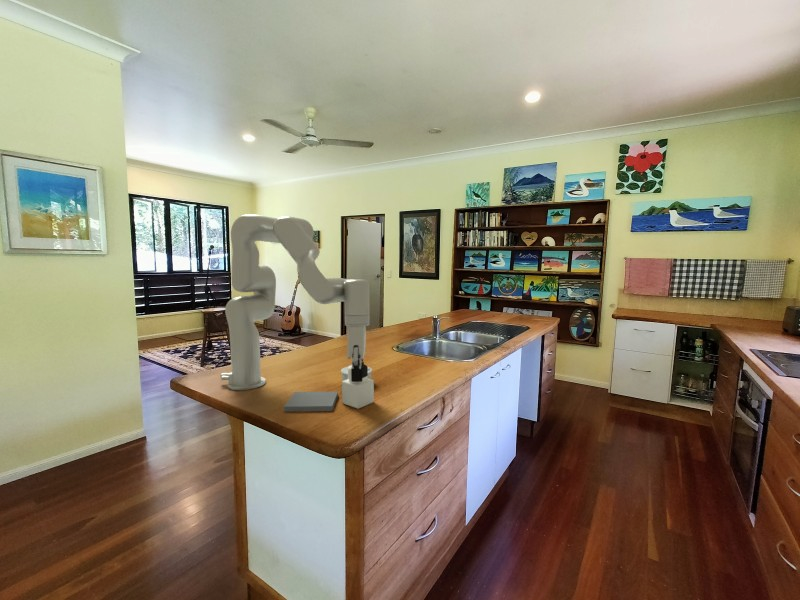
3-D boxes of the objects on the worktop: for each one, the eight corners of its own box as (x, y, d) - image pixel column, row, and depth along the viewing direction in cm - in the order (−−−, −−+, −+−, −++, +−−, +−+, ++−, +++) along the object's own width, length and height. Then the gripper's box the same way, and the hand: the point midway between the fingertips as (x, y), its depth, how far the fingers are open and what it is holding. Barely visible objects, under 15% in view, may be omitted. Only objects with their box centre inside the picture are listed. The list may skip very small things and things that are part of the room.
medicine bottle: (358, 396, 116) (358, 360, 114) (374, 402, 111) (374, 364, 110) (341, 403, 110) (341, 365, 109) (357, 409, 106) (357, 369, 104)
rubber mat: (284, 411, 104) (283, 406, 104) (294, 396, 116) (294, 391, 116) (332, 410, 104) (332, 406, 104) (338, 395, 116) (338, 391, 116)
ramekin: (367, 390, 122) (366, 375, 121) (336, 388, 124) (335, 373, 124) (375, 380, 133) (375, 366, 132) (347, 378, 135) (347, 364, 134)
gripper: (348, 316, 116) (348, 369, 118) (341, 324, 99) (342, 387, 101) (371, 315, 117) (371, 369, 118) (368, 324, 100) (368, 387, 101)
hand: (357, 377), depth 110 cm, fingers closed on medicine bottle, 6 cm apart
